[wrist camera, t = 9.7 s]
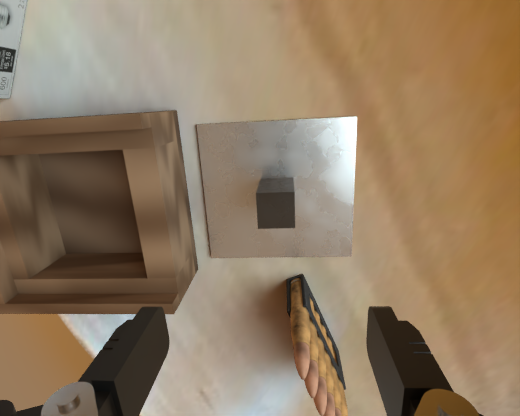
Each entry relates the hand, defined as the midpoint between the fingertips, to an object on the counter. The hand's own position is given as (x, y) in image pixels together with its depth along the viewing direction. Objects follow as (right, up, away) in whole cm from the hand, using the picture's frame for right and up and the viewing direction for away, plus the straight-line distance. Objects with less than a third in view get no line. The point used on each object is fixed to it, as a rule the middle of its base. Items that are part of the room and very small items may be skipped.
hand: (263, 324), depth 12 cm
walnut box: (-15, +5, +19) cm, 25 cm away
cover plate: (+2, +6, +18) cm, 19 cm away
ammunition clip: (+6, -7, +22) cm, 24 cm away
